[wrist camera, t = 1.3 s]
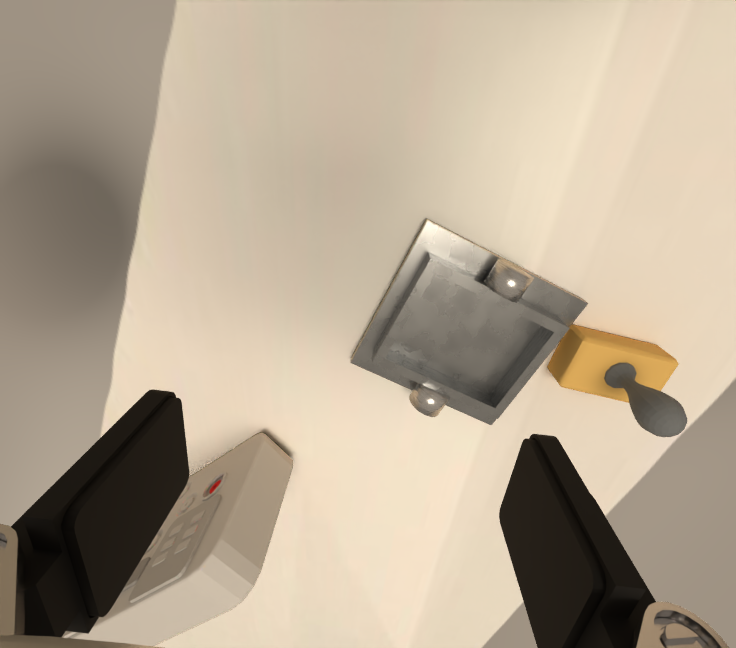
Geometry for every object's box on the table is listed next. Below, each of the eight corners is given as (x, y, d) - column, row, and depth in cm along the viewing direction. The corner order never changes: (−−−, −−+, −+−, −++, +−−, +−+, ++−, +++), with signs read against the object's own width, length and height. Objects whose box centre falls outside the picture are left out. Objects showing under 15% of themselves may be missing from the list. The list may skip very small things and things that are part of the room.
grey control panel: (256, 412, 48) (186, 551, 31) (298, 452, 50) (252, 601, 34) (116, 505, 56) (2, 654, 40) (157, 536, 58) (66, 688, 42)
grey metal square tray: (426, 218, 37) (431, 227, 32) (582, 298, 39) (606, 318, 35) (351, 357, 44) (347, 380, 39) (488, 418, 46) (499, 447, 42)
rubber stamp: (657, 344, 41) (754, 415, 30) (630, 388, 43) (710, 469, 33) (569, 322, 41) (634, 387, 30) (545, 368, 43) (598, 444, 32)
